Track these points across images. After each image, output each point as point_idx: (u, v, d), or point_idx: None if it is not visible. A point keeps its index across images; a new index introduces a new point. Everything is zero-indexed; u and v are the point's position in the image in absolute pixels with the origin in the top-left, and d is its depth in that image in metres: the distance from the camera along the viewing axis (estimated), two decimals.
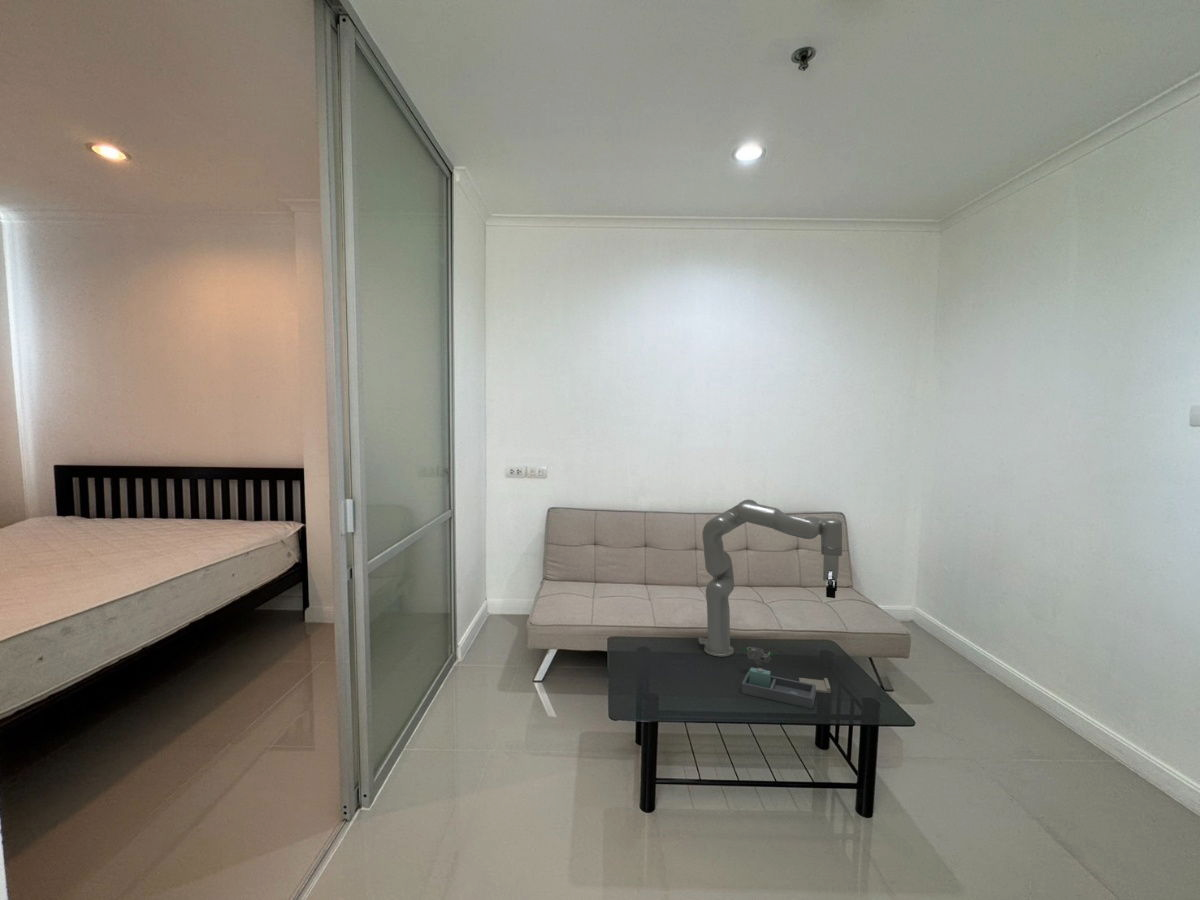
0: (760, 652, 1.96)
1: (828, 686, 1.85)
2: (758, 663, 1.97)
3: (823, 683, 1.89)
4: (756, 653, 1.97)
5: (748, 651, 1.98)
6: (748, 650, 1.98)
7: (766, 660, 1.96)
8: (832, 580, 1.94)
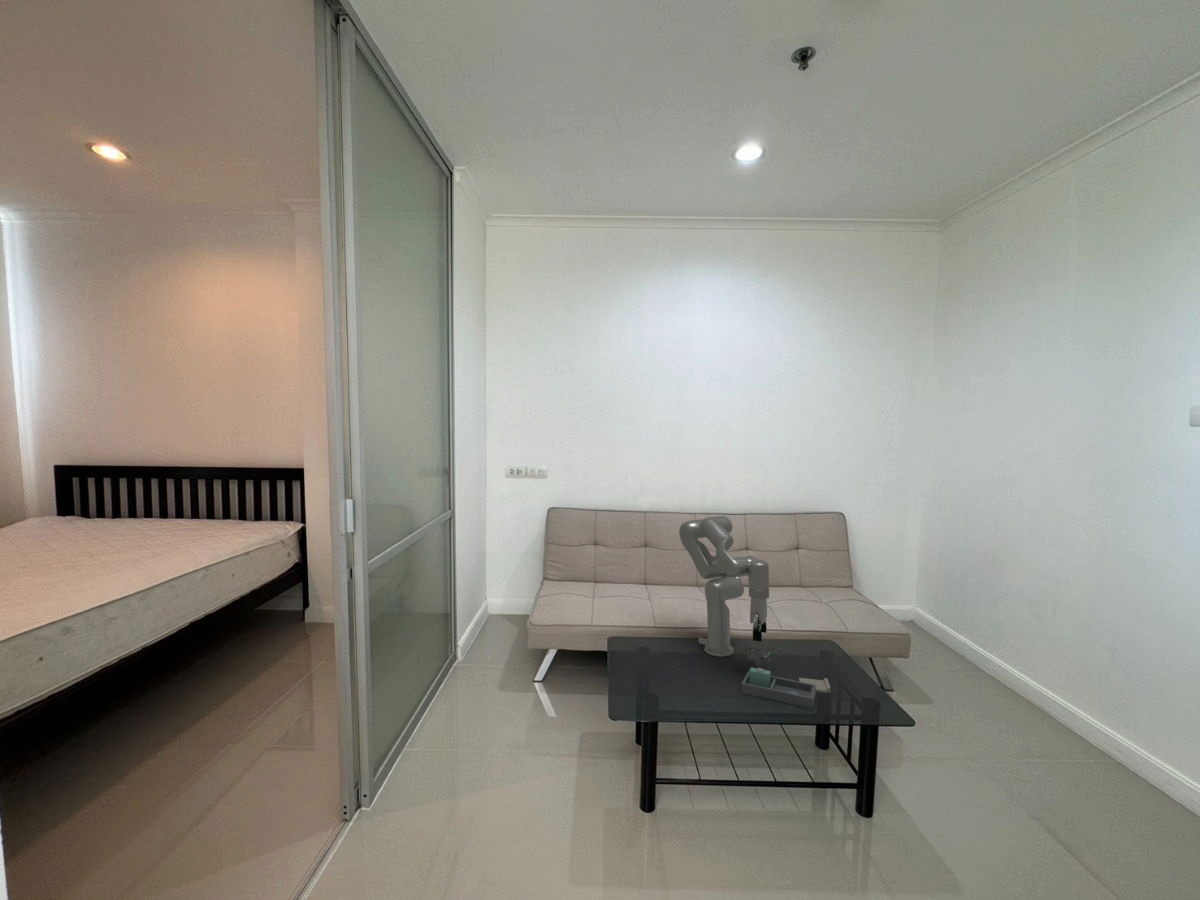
0: (760, 652, 1.96)
1: (828, 686, 1.85)
2: (758, 663, 1.97)
3: (823, 683, 1.89)
4: (756, 653, 1.97)
5: (748, 651, 1.98)
6: (748, 650, 1.98)
7: (766, 660, 1.96)
8: (758, 623, 1.92)
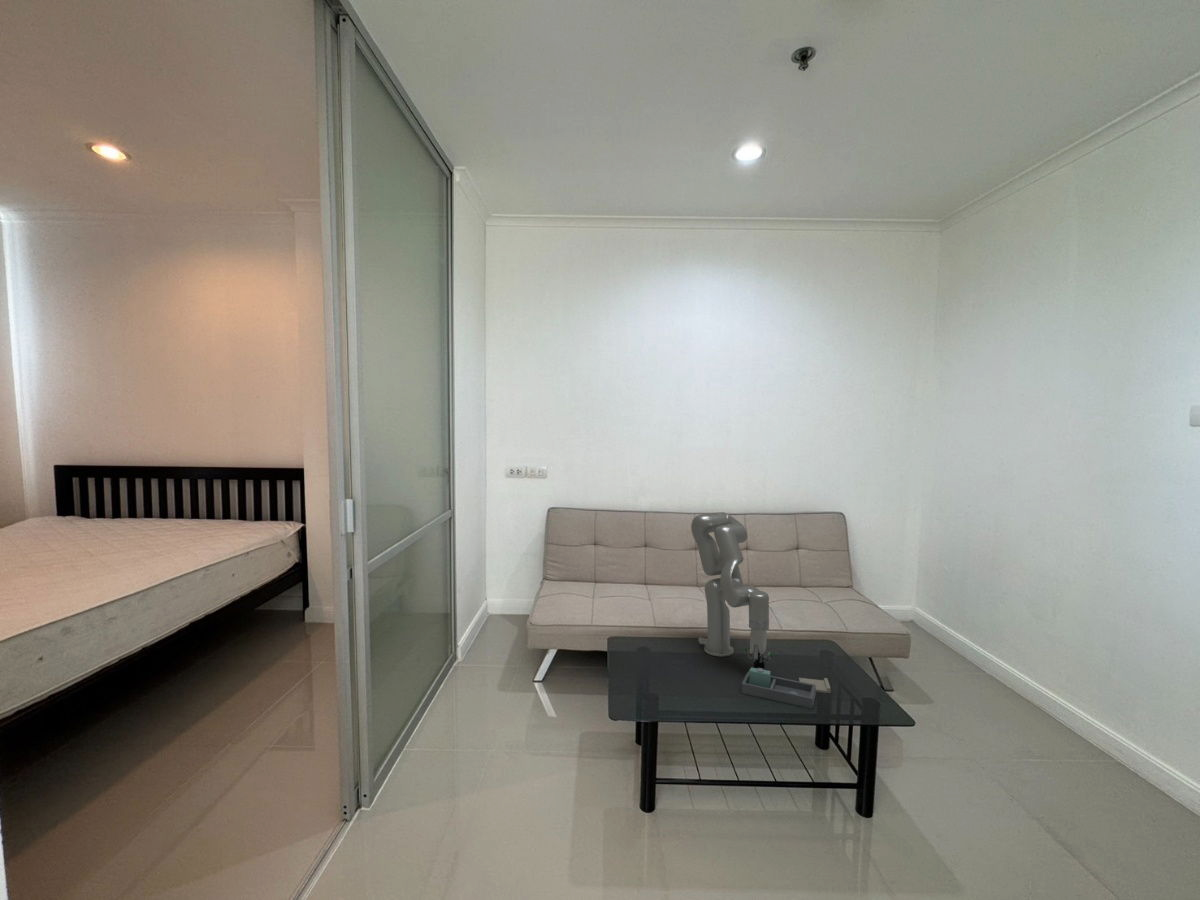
0: None
1: (828, 686, 1.85)
2: None
3: (823, 683, 1.89)
4: None
5: (748, 651, 1.98)
6: (748, 650, 1.98)
7: (766, 660, 1.96)
8: None
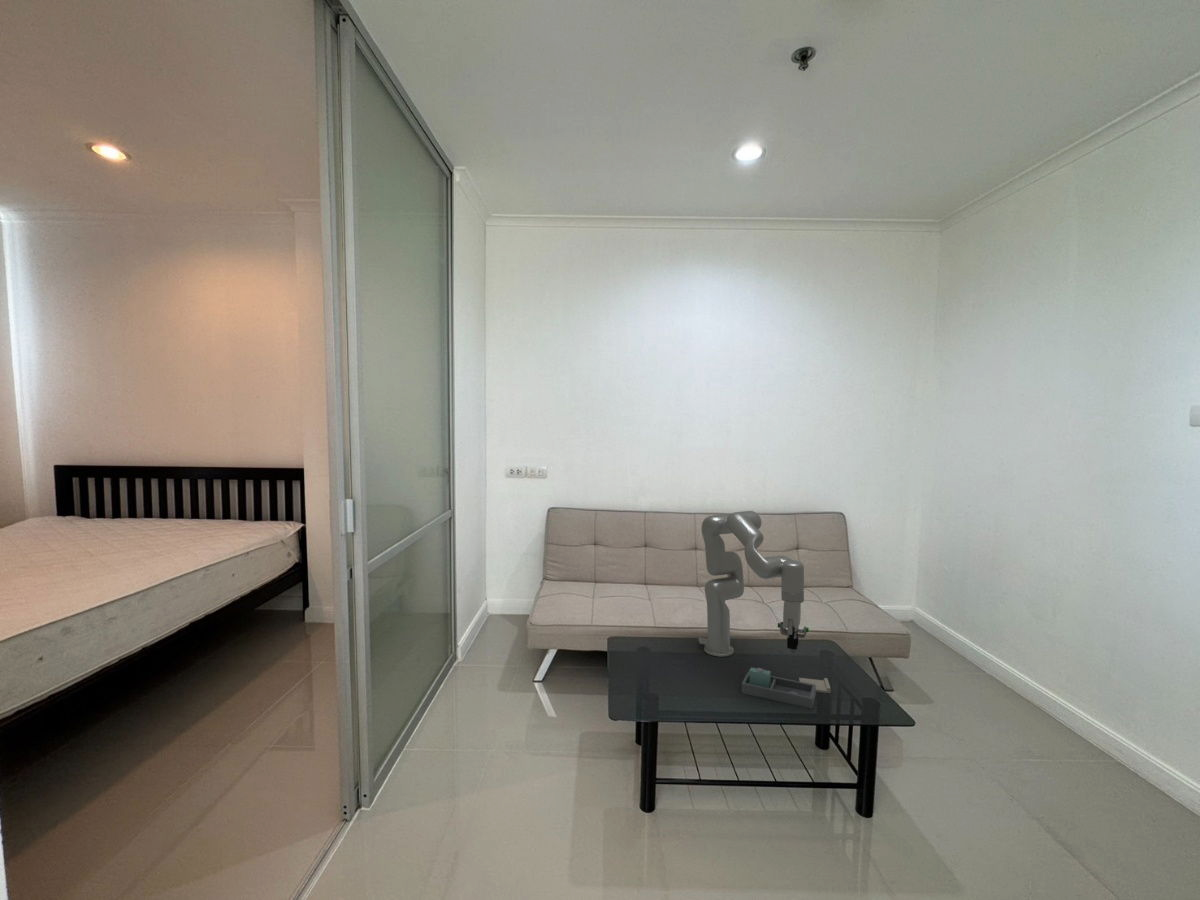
0: None
1: (828, 686, 1.85)
2: None
3: (823, 683, 1.89)
4: None
5: (781, 626, 1.81)
6: (781, 625, 1.81)
7: (801, 635, 1.79)
8: (793, 631, 1.78)
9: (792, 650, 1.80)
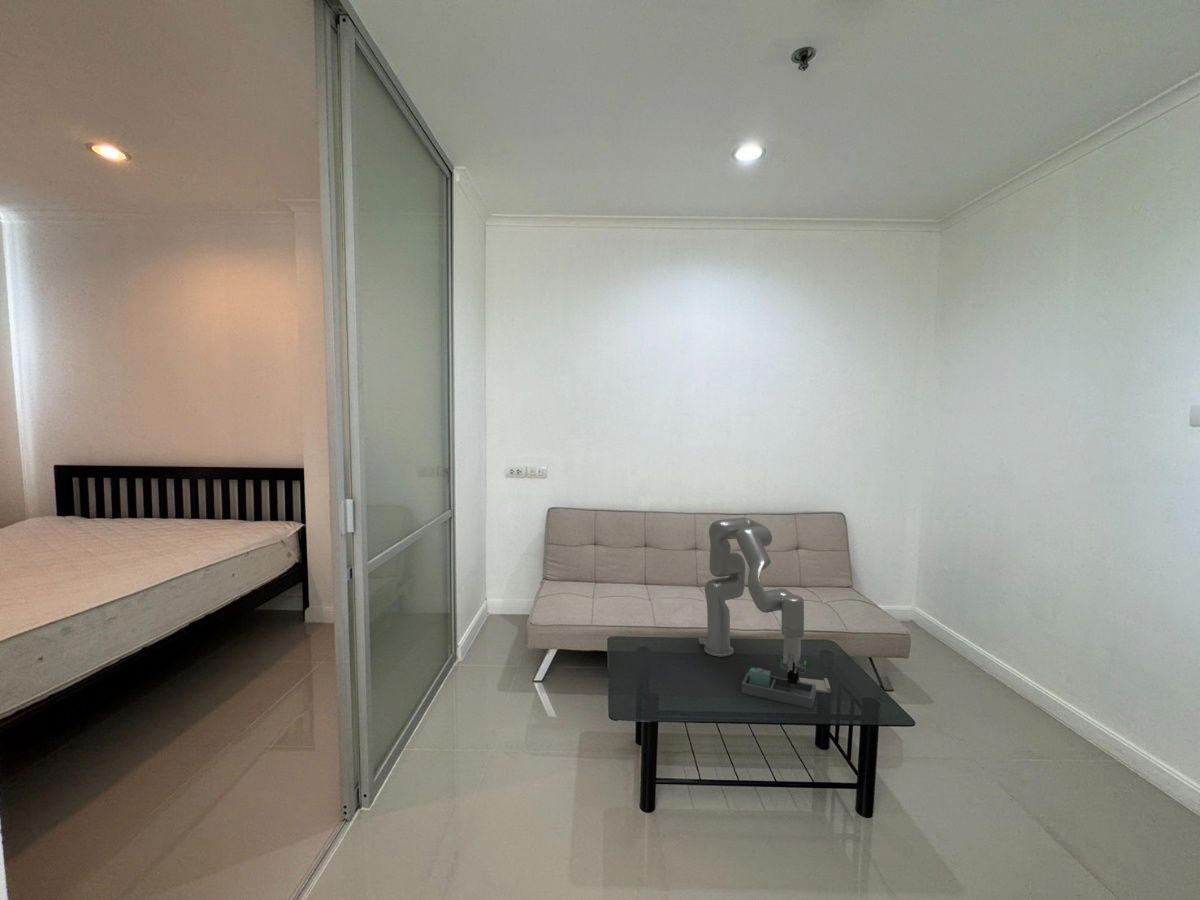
0: None
1: (828, 686, 1.85)
2: None
3: (823, 683, 1.89)
4: None
5: (781, 661, 1.81)
6: (781, 660, 1.81)
7: (801, 670, 1.79)
8: None
9: (793, 684, 1.80)
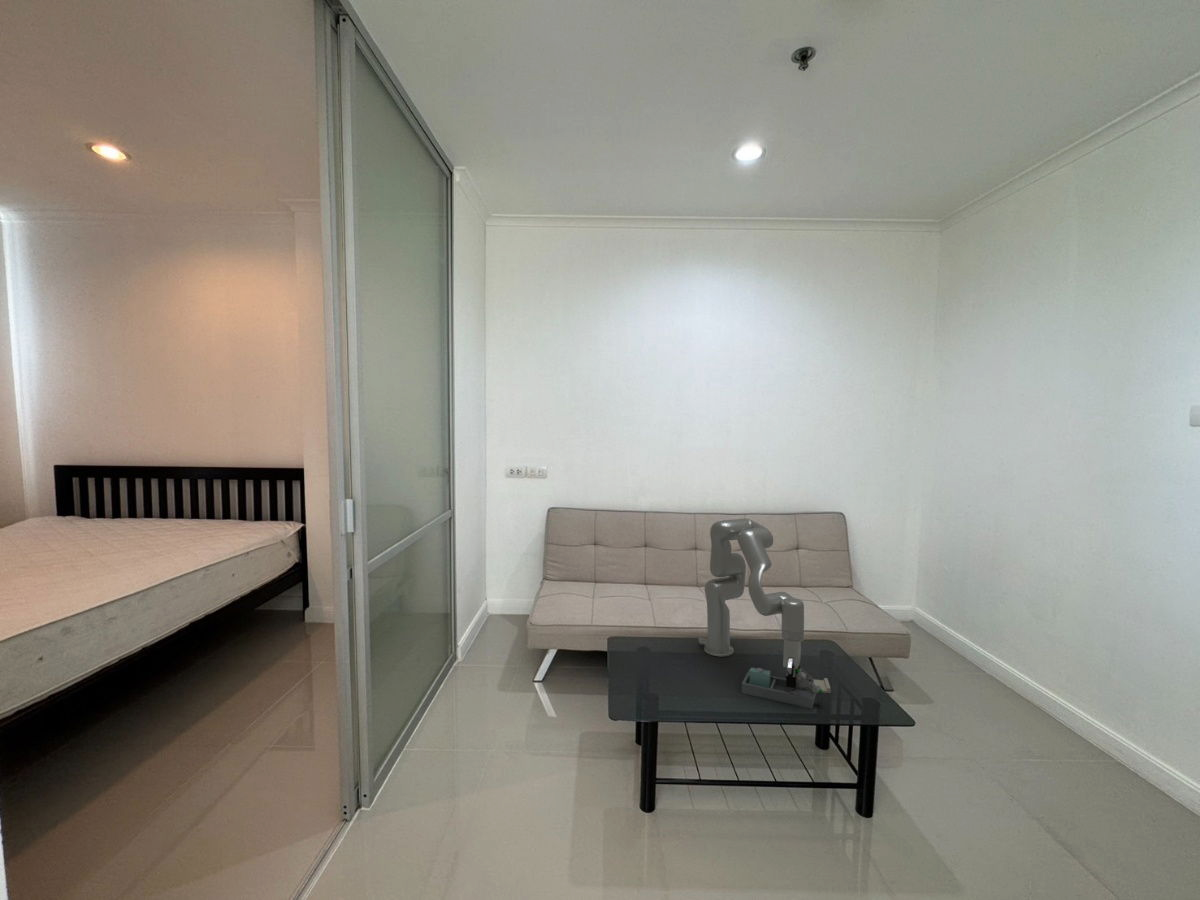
0: (810, 684, 1.74)
1: (828, 686, 1.85)
2: (800, 686, 1.77)
3: (823, 683, 1.89)
4: (805, 682, 1.74)
5: (798, 675, 1.75)
6: (799, 675, 1.75)
7: (810, 689, 1.76)
8: (792, 668, 1.76)
9: (793, 689, 1.80)
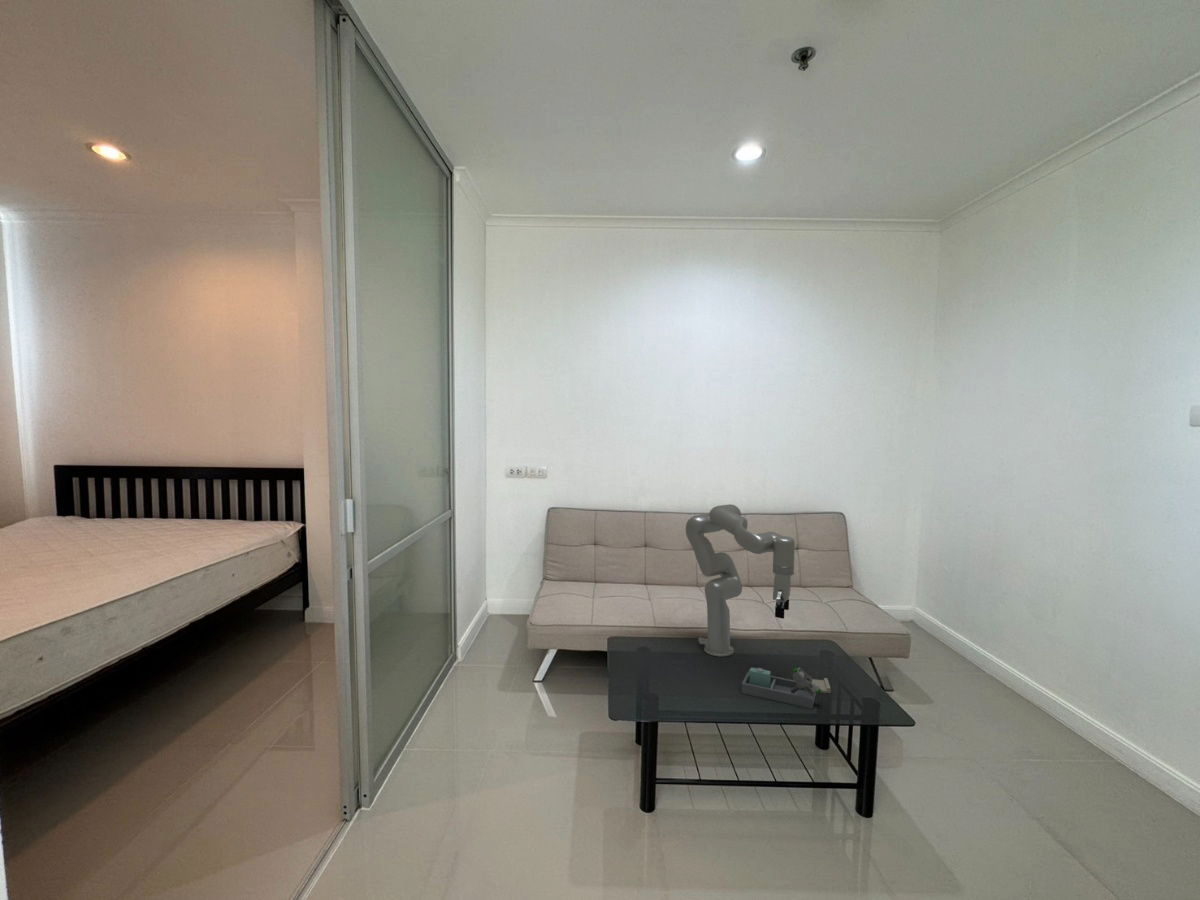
0: (809, 683, 1.75)
1: (828, 686, 1.85)
2: (799, 687, 1.77)
3: (823, 683, 1.89)
4: (804, 681, 1.75)
5: (796, 674, 1.76)
6: (797, 674, 1.76)
7: (809, 690, 1.76)
8: (781, 600, 1.88)
9: (793, 691, 1.80)
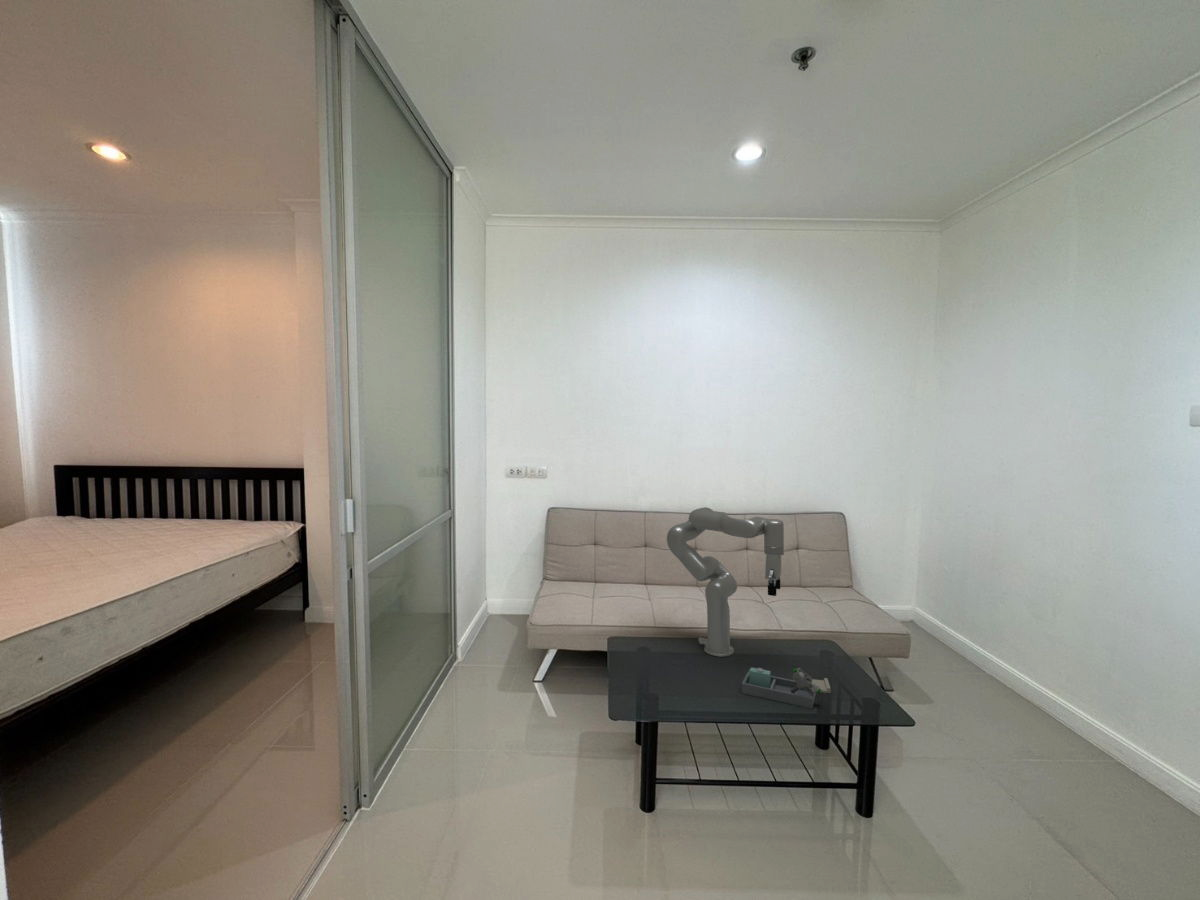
0: (809, 683, 1.74)
1: (828, 686, 1.85)
2: (799, 687, 1.77)
3: (823, 683, 1.89)
4: (804, 681, 1.75)
5: (796, 674, 1.76)
6: (797, 674, 1.76)
7: (809, 690, 1.76)
8: (773, 578, 2.00)
9: (793, 691, 1.80)
